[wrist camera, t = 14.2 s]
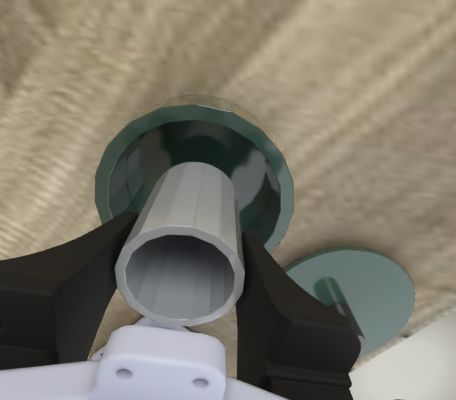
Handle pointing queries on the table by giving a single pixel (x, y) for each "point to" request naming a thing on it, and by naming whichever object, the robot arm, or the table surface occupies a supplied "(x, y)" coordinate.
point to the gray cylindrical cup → (185, 249)
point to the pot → (199, 152)
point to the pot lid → (359, 290)
